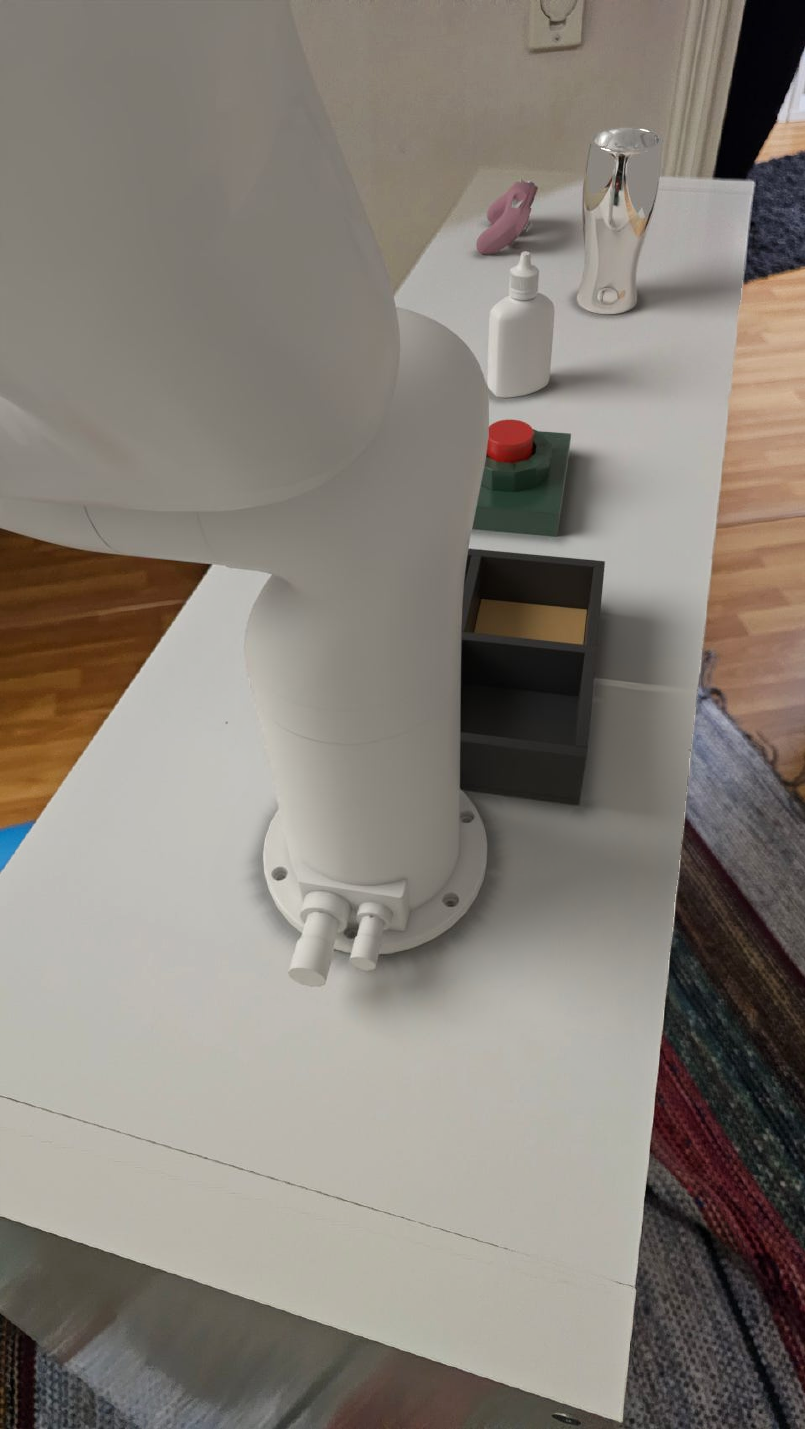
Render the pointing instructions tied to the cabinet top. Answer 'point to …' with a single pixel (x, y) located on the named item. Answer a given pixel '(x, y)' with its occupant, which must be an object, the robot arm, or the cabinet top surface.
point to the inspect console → (525, 489)
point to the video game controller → (508, 218)
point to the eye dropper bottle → (520, 335)
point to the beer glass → (617, 214)
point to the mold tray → (527, 673)
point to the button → (510, 441)
